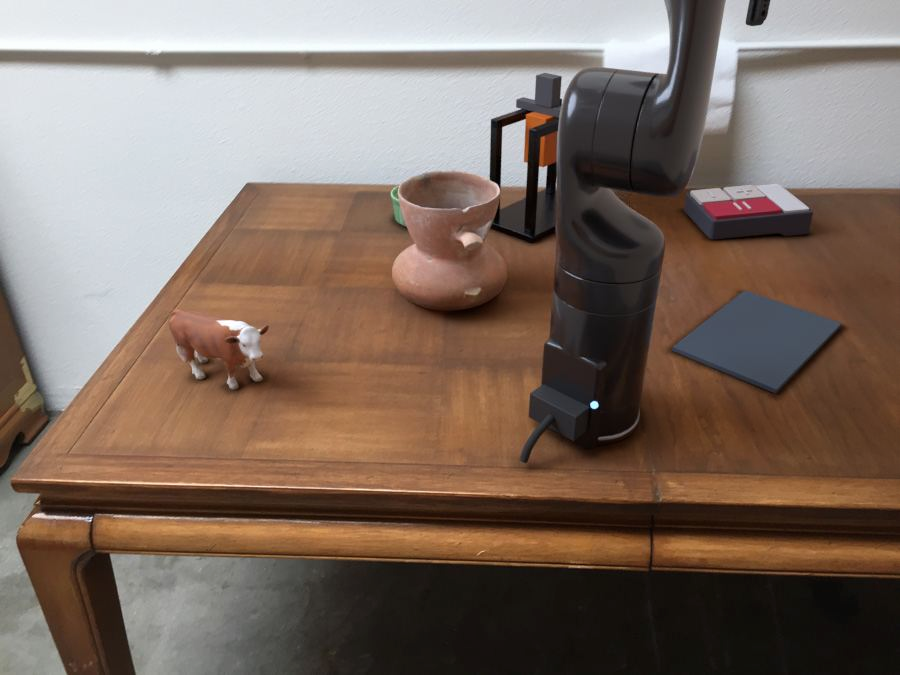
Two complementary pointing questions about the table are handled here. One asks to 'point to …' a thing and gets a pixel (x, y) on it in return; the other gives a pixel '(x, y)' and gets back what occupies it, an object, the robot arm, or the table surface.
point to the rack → (538, 208)
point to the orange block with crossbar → (543, 115)
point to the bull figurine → (216, 342)
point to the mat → (758, 340)
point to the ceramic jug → (449, 241)
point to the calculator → (747, 211)
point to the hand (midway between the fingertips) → (728, 19)
